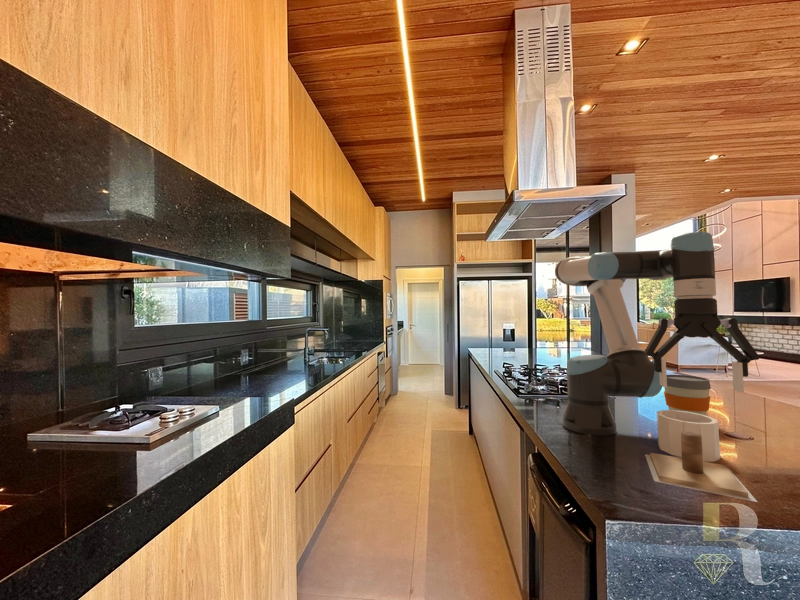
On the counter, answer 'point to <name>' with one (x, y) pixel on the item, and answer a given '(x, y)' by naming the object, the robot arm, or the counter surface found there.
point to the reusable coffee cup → (687, 393)
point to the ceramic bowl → (682, 421)
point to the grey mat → (695, 487)
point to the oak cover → (696, 469)
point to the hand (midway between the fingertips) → (699, 388)
